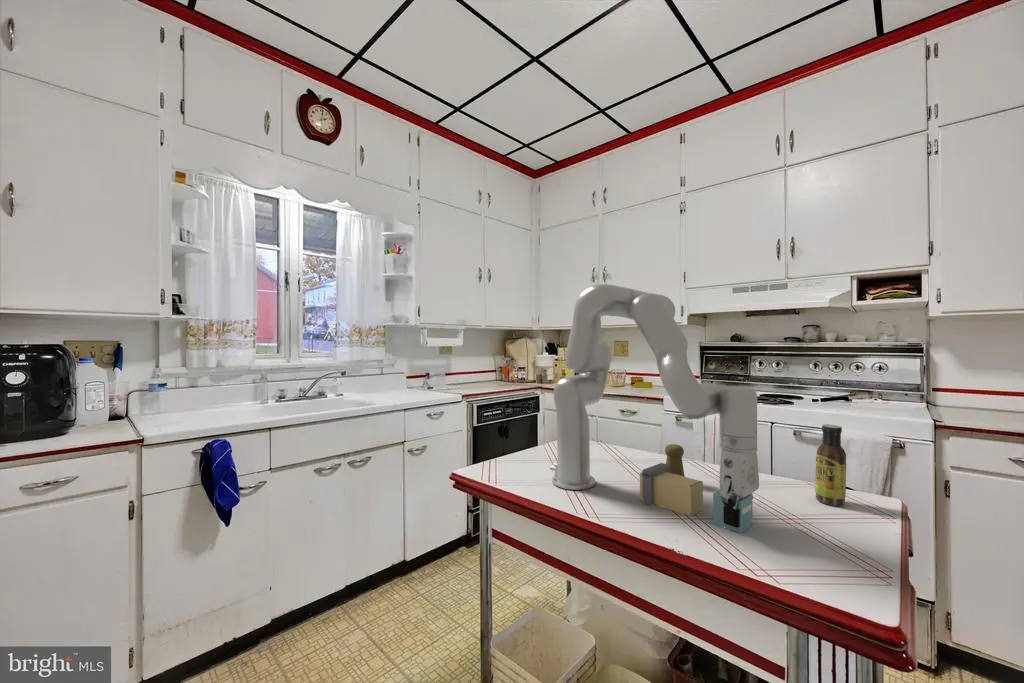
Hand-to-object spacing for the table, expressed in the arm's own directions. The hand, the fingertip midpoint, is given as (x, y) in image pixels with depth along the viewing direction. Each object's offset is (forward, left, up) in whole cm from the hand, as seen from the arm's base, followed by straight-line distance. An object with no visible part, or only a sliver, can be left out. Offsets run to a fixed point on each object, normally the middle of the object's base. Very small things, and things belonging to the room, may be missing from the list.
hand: (738, 520), depth 95 cm
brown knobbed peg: (-25, +16, -2) cm, 29 cm away
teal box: (-1, 0, -1) cm, 2 cm away
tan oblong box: (-17, 0, -1) cm, 17 cm away
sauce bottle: (+9, +32, -2) cm, 33 cm away
